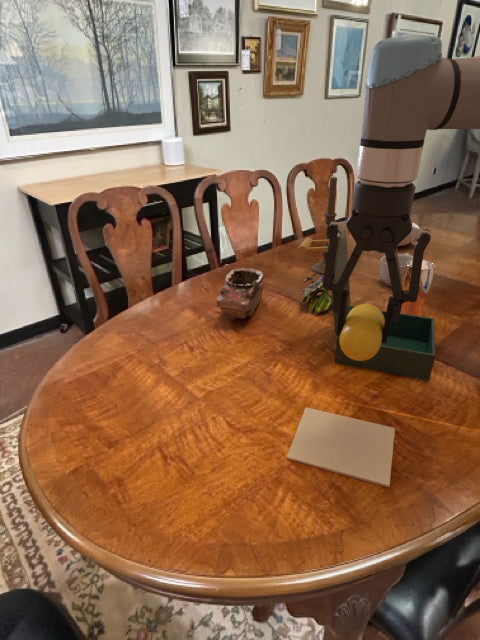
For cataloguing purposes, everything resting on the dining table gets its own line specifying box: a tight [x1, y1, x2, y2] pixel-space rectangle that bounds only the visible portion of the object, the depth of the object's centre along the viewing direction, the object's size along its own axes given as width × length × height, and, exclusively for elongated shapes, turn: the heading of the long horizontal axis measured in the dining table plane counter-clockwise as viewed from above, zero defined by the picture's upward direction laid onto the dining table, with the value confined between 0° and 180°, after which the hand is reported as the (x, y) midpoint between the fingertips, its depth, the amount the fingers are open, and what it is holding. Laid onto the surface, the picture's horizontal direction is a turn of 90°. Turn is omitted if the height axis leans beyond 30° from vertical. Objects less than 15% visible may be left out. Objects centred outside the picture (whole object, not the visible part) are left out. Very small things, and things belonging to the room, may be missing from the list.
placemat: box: [286, 406, 396, 488], centre depth 71 cm, size 16×13×1 cm
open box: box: [334, 305, 436, 381], centre depth 93 cm, size 19×16×7 cm
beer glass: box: [401, 259, 436, 317], centre depth 105 cm, size 7×7×15 cm
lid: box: [297, 229, 351, 338], centre depth 92 cm, size 20×16×8 cm
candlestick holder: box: [311, 175, 338, 276], centre depth 131 cm, size 9×9×30 cm
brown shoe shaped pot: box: [216, 267, 265, 320], centre depth 111 cm, size 13×20×10 cm, turn 158°
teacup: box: [379, 252, 413, 287], centre depth 127 cm, size 14×11×8 cm
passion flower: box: [300, 272, 332, 315], centre depth 113 cm, size 11×11×12 cm
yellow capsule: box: [340, 303, 385, 361], centre depth 65 cm, size 12×6×6 cm, turn 158°
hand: (362, 334), depth 65 cm, fingers closed on yellow capsule, 6 cm apart
